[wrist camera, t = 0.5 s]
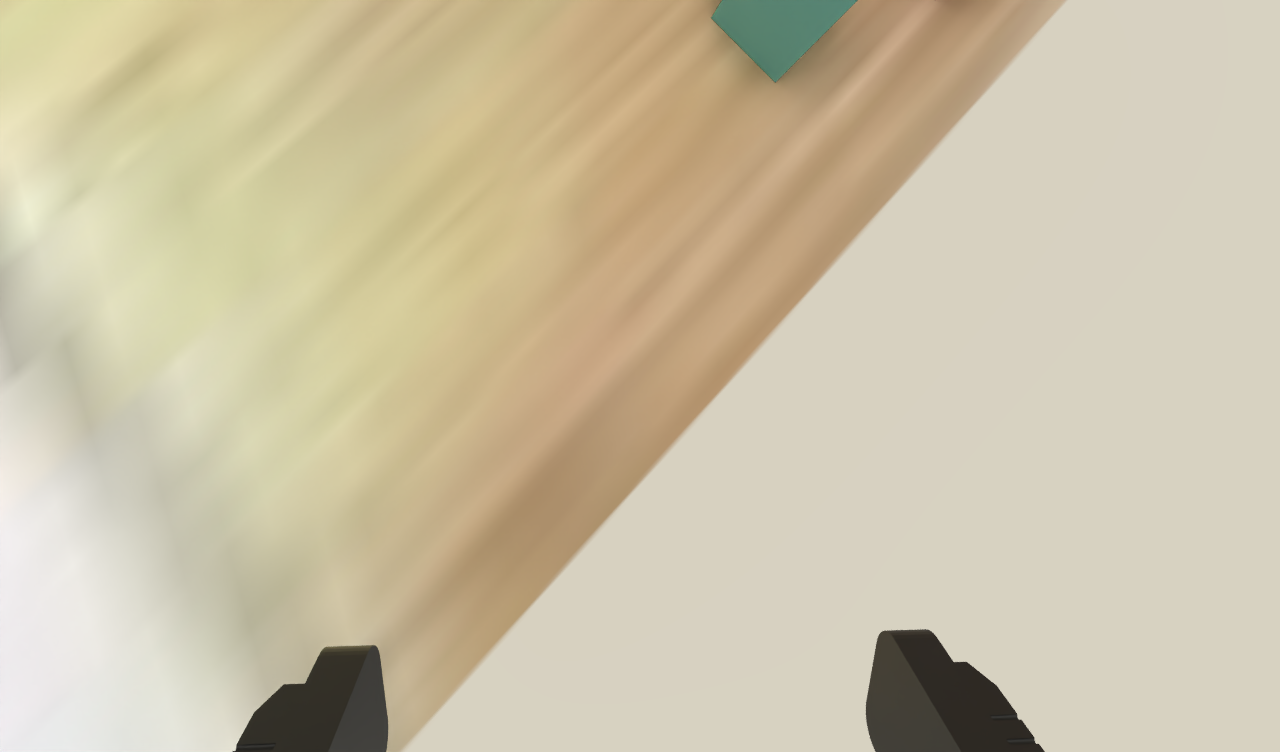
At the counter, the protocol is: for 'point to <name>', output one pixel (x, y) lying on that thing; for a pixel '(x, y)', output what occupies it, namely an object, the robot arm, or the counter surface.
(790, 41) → the teal block
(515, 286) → the counter surface
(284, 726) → the robot arm
